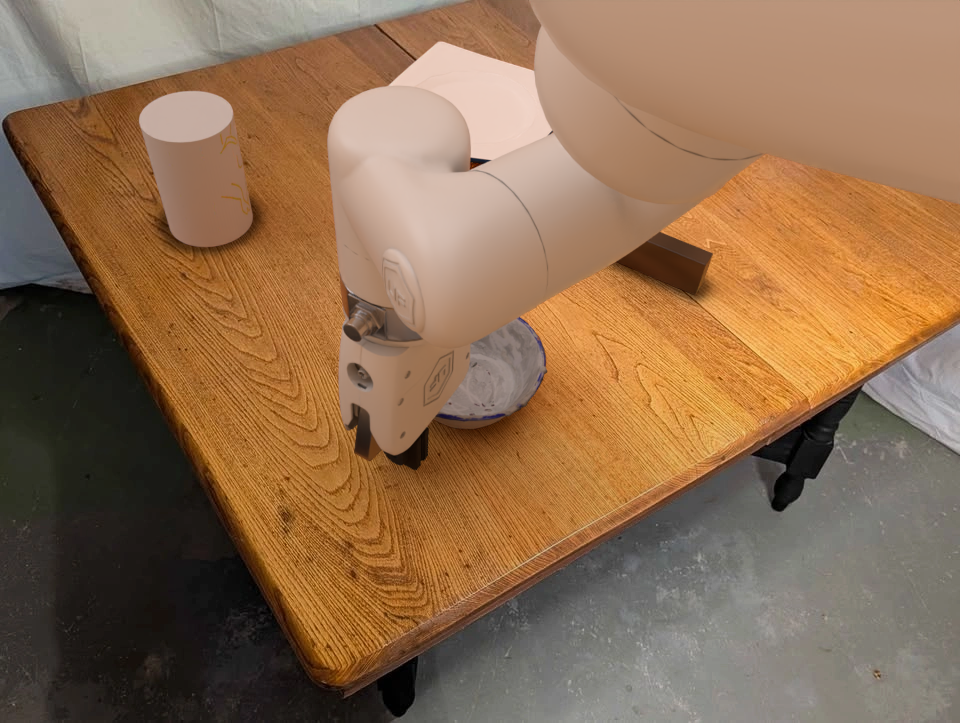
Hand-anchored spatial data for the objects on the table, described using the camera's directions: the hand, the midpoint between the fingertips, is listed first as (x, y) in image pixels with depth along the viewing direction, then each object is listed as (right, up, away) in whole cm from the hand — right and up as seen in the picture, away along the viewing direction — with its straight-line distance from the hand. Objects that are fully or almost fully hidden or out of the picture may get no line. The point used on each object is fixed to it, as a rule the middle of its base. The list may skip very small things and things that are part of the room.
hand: (405, 455), depth 66 cm
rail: (+17, +19, +20) cm, 32 cm away
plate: (+5, +36, +34) cm, 49 cm away
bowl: (+5, +5, +6) cm, 9 cm away
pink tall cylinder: (-21, +21, +19) cm, 36 cm away
